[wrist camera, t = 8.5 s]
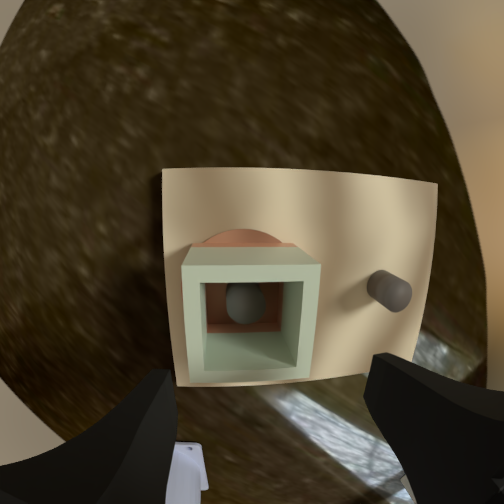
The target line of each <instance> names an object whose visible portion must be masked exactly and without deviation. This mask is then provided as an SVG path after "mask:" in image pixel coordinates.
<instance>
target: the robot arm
mask: <svg viewBox="0 0 504 504" xmlns="http://www.w3.org/2000/svg"><path fill="white" fill-rule="evenodd" d="M363 398H364V400H365V402H366V405H367V407H368V410H369V412H370V414H371V416H372V418H373V420H374V422H375V423H376V425H377V426H378V428H379V430H380V431H381V433H382V434H383V436H384V437H385V439H386V441H387V442H388V444H389V445H390V447H391V448H392V450H393V452H394V453H395V455H396V456H397V458H398V460H399V462H400V463H401V465H402V468H403V470H404V472H405V474H406V476H407V479H408V481H409V483H410V486H411V489H412V491H413V494H414V497H415V499H416V502H417V504H504V392H503V391H496V390H489V389H484V388H480V387H476V386H472V385H468V384H464V383H461V382H458V381H455V380H453V379H450V378H447V377H444V376H442V375H439V374H437V373H435V372H432V371H430V370H428V369H425V368H423V367H421V366H419V365H416V364H414V363H412V362H410V361H408V360H405V359H403V358H401V357H398V356H396V355H393V354H391V353H388V352H385V353H379V354H374V355H373V358H372V362H371V367H370V371H369V375H368V380H367V384H366V388H365V392H364V396H363ZM177 419H178V411H177V406H176V401H175V395H174V390H173V384H172V378H171V371H170V369H152V370H151V371H150V372H149V373H148V374H147V375H146V376H145V377H144V378H143V379H142V381H141V382H140V383H139V384H138V385H137V386H136V387H135V388H134V389H133V390H132V391H131V392H130V393H129V394H128V395H127V396H126V397H125V398H124V399H123V400H122V401H121V402H120V403H119V404H118V405H117V406H116V407H115V408H113V409H112V410H111V411H110V412H109V413H108V414H107V415H105V416H104V417H103V418H102V419H101V420H99V421H98V422H97V423H96V424H94V425H93V426H91V427H90V428H88V429H87V430H86V431H84V432H83V433H81V434H79V435H78V436H76V437H74V438H73V439H71V440H69V441H67V442H65V443H63V444H61V445H60V446H58V447H56V448H54V449H52V450H49V451H47V452H45V453H42V454H40V455H37V456H34V457H32V458H29V459H26V460H23V461H19V462H15V463H11V464H7V465H2V466H0V504H200V490H207V489H208V481H207V476H206V470H205V465H204V459H203V453H202V447H201V445H200V444H199V443H192V442H176V435H177Z"/></svg>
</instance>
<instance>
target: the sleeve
mask: <svg viewBox="0 0 504 504" xmlns="http://www.w3.org/2000/svg"><path fill="white" fill-rule="evenodd" d="M181 269H182V290H183V307H184V322H185V335H186V346H187V357H188V367H189V377H190V383H236V382H260V381H276V380H289V379H300V378H309V375H310V368H311V360H312V352H313V344H314V336H315V327H316V317H317V307H318V297H319V285H320V273H321V264H320V263H319V262H317V261H316V260H315V259H313V258H312V257H311V256H309V255H308V254H307V253H305V252H304V251H303V250H301V249H300V248H299V247H297V246H296V245H295V244H293V243H193V244H192V246H191V248H190V250H189V252H188V254H187V256H186V257H185V259H184V261H183V263H182V265H181ZM236 282H279V296H278V316H277V323H251V324H208V320H207V291H206V283H236Z"/></svg>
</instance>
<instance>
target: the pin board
mask: <svg viewBox="0 0 504 504" xmlns="http://www.w3.org/2000/svg"><path fill="white" fill-rule="evenodd" d="M437 190H438V184H436V183H429V182H423V181H416V180H409V179H401V178H393V177H384V176H376V175H366V174H356V173H344V172H332V171H317V170H300V169H277V168H175V169H162V211H163V243H164V263H165V279H166V293H167V305H168V315H169V325H170V335H171V343H172V352H173V360H174V367H175V374H176V381H177V386H192V387H217V386H249V385H267V384H280V383H291V382H301V381H310V380H319V379H326V378H334V377H340V376H347V375H353V374H359V373H365V372H369V371H370V367H371V362H372V358H373V355H374V354H379V353H385V352H388V353H391V354H393V355H396V356H398V357H401V358H403V359H405V360H408V361H410V362H411V361H412V357H413V354H414V350H415V346H416V342H417V338H418V334H419V330H420V325H421V321H422V316H423V311H424V307H425V301H426V296H427V290H428V284H429V278H430V271H431V264H432V257H433V248H434V238H435V227H436V213H437ZM193 243H293V244H295V245H296V246H297V247H299V248H300V249H301V250H303V251H304V252H305V253H307V254H308V255H309V256H311V257H312V258H313V259H315V260H316V261H317V262H319V263H320V264H321V273H320V285H319V297H318V307H317V317H316V327H315V336H314V344H313V352H312V360H311V368H310V375H309V378H300V379H289V380H276V381H260V382H236V383H190V377H189V367H188V357H187V346H186V335H185V322H184V307H183V290H182V269H181V265H182V263H183V261H184V259H185V257H186V256H187V254H188V252H189V250H190V248H191V246H192V244H193ZM206 291H207V320H208V324H251V323H277V316H278V296H279V282H236V283H206Z"/></svg>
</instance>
